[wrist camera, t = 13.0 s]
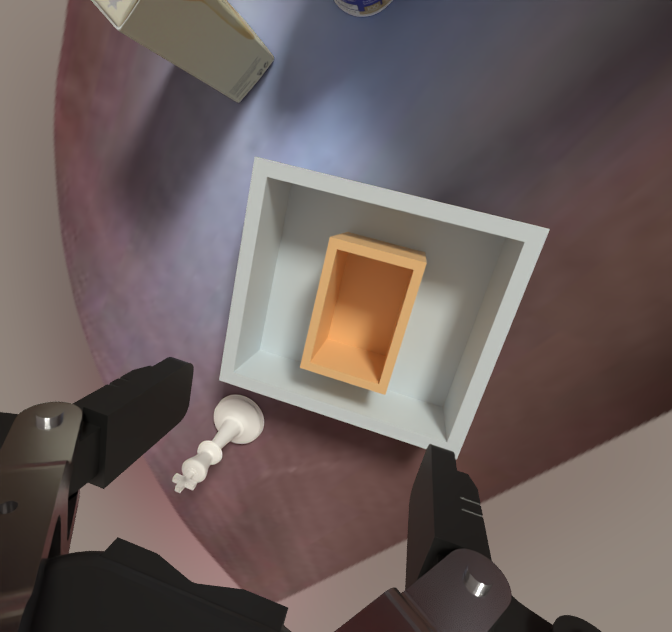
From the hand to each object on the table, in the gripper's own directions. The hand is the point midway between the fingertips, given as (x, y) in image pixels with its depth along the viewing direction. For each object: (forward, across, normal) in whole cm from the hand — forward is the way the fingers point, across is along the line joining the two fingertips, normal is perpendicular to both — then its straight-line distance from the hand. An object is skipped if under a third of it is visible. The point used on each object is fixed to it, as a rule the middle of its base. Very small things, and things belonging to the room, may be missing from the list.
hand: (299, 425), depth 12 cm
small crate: (+19, 0, 0) cm, 19 cm away
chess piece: (+20, +9, +15) cm, 27 cm away
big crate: (+20, 0, 0) cm, 20 cm away
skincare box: (+20, +15, -15) cm, 29 cm away
